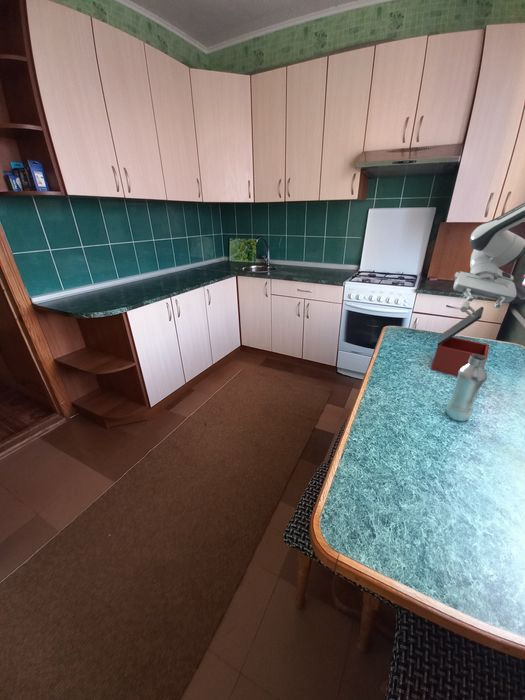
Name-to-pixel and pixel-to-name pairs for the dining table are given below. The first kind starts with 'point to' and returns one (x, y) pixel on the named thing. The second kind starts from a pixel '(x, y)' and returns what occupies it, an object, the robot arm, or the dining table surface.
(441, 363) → the red box
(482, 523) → the dining table surface
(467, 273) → the robot arm
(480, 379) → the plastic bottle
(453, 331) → the box lid
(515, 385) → the dining table surface
